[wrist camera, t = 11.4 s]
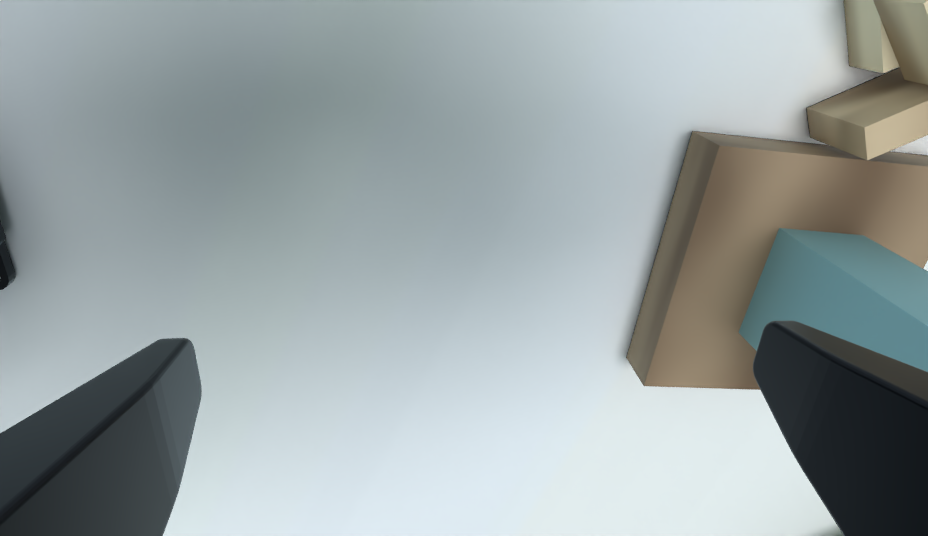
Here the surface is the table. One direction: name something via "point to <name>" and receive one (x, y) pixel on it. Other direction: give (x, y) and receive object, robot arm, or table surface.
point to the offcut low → (867, 38)
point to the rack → (872, 116)
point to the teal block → (843, 293)
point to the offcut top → (907, 35)
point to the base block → (758, 243)
